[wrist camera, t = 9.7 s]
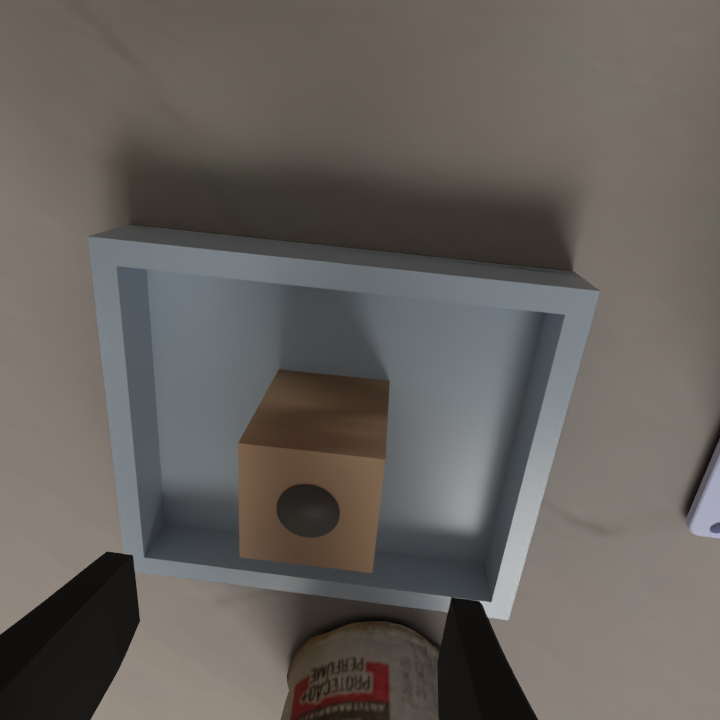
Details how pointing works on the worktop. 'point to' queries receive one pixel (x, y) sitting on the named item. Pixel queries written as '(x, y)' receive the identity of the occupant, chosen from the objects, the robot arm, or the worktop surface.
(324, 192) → the worktop surface
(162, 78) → the worktop surface
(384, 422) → the tan wooden block
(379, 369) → the slate tray
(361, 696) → the spray can
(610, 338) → the worktop surface
